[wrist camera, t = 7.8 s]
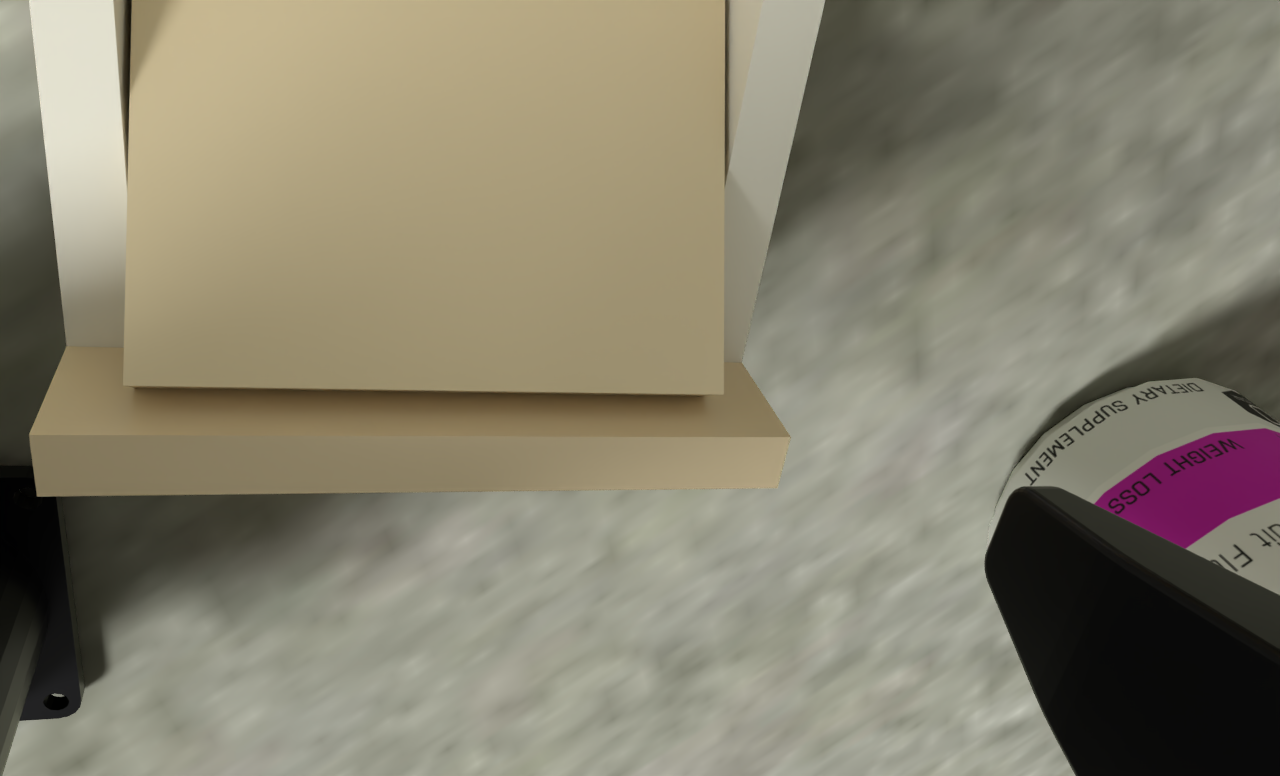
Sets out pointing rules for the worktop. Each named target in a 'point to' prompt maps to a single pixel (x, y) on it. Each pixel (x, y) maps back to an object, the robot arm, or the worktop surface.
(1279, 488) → the supplement can
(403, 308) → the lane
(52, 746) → the worktop surface
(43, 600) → the robot arm
